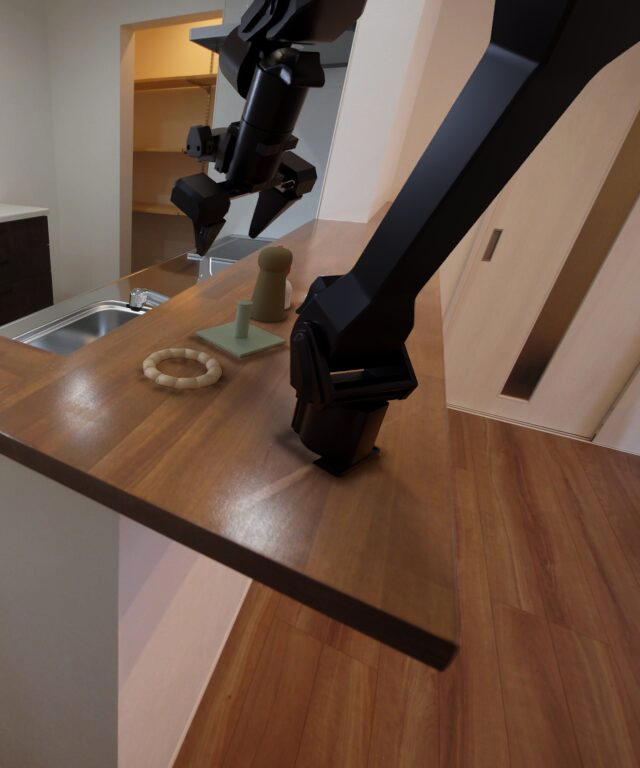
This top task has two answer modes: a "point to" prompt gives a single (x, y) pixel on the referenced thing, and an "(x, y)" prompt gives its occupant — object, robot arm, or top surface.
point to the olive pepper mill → (271, 284)
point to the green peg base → (241, 334)
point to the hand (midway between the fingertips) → (226, 245)
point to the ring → (182, 383)
